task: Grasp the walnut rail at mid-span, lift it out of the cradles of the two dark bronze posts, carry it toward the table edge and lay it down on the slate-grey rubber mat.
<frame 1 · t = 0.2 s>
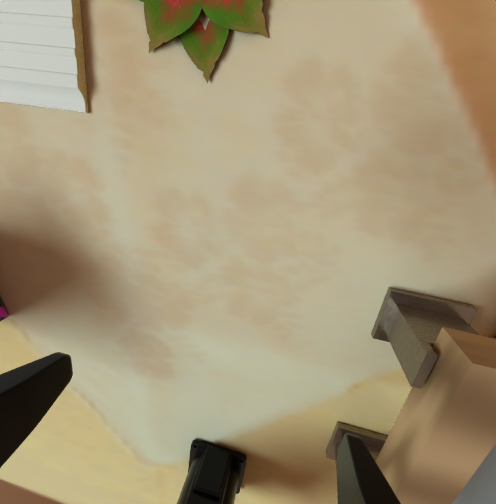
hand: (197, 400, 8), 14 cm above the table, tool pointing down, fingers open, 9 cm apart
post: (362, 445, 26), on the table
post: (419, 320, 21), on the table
rail: (407, 446, 19), point 5 cm above the table, touching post, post
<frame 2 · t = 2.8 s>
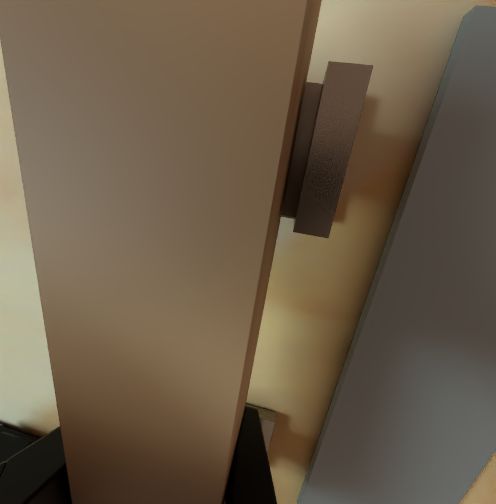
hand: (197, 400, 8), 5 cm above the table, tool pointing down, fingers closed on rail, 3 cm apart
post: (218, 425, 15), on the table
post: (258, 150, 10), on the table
mat: (433, 363, 12), on the table
rail: (195, 405, 8), point 5 cm above the table, touching gripper, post, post
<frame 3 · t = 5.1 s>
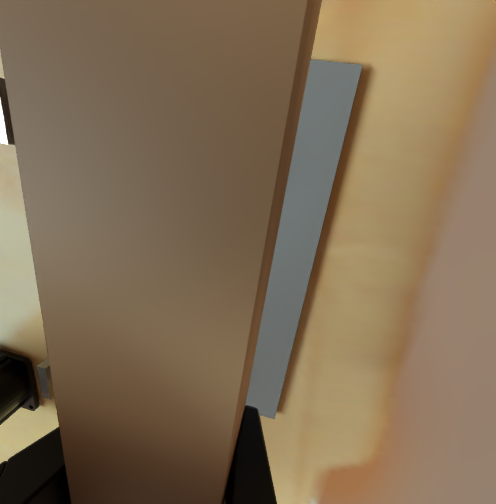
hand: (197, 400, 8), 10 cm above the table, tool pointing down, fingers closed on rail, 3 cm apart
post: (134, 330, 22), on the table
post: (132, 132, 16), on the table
mat: (255, 271, 18), on the table
rail: (194, 405, 8), point 11 cm above the table, touching gripper
when the fingers open (2 cm above the table, at t = 7.2 s): rail drops 1 cm, resting on mat.
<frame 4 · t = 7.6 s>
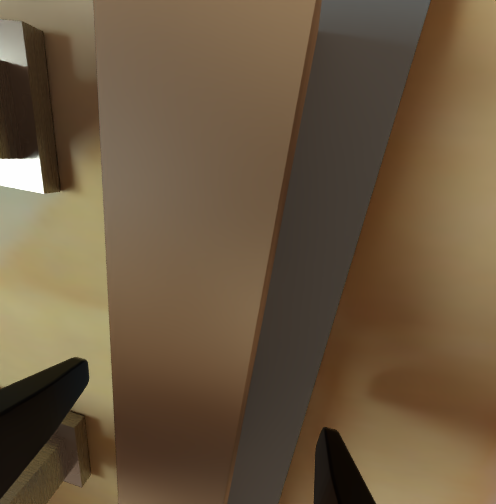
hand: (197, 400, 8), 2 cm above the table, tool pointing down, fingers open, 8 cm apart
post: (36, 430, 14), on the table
mat: (215, 360, 10), on the table
rail: (209, 371, 9), point 1 cm above the table, touching mat
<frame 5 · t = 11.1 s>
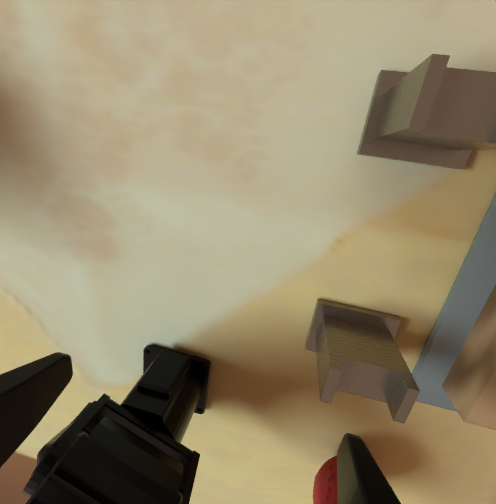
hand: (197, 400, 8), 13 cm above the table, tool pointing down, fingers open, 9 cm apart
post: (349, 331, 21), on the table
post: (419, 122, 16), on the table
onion: (342, 453, 25), on the table
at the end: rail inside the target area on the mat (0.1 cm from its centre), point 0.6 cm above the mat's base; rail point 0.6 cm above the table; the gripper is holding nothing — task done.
